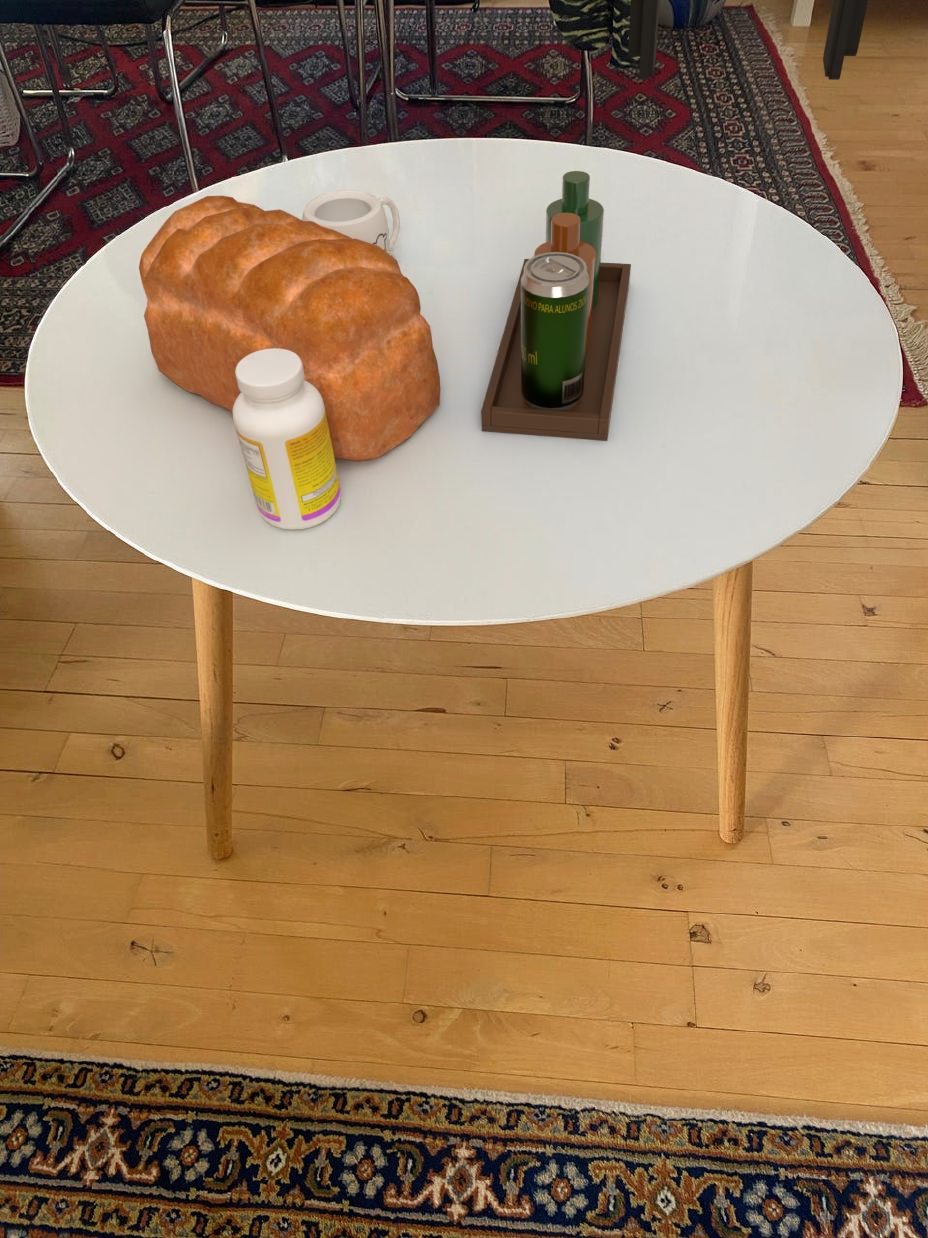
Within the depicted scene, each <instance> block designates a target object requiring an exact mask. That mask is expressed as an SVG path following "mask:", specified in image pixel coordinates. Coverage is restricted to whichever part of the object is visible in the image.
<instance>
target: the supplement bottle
mask: <svg viewBox="0 0 928 1238" xmlns="http://www.w3.org/2000/svg"><path fill="white" fill-rule="evenodd" d="M235 373H236V378H237V383H238V388H239V390H240V391H241V393H240V394H239V396H238V397H237V399H236V401H235V403H234V406H233V413H232V421H233V424H234V425H233V426H234V428H235V431H236V436H237V438H238V442H239V443H238V444H239V445H240V449H241V453H242V456H243V457H242V458H243V459H244V464H245V469H246V471H247V474H248V475H247V476H248V480H249V483H250V486H251V489H252V494H253V497H254V500H255V504H256V507H257V510H258V512H259V514H260V516H261V517H262V518H263V519H264V520H265V521H266V522H267V523H269V525H272V526H274V527H276V528H279V529H283V530H293V531H294V530H295V531H296V530H303V529H304V530H305V529H309V528H312V527H316V526H318V525H320V524H322V523H324V522H326V521H327V520H328V519H329V518H331V517H332V516H333V515H334V513H335V512H336V511H337V510H338V508H339V506H340V504H341V500H342V499H341V498H342V493H341V491H342V490H341V486H340V479H339V474H338V469H337V464H336V459H335V458H336V457H334V453H333V448H332V443H331V438H330V433H329V427H328V422H327V417H326V412H325V407H324V403H323V399H322V396H321V394H320V393H319V391H318V390H317V389H316V388H315V387H314V386H313V385H312V384H310V383H309V382H307V381H305V380H304V376H305V375H304V370H303V365H302V362H301V359H300V358H299V356H298V355H297V354H295V353H294V352H291V351H289V350H285V349H278V348H273V349H264V350H260V351H256V352H254V353H251V354H249V355H247V356H246V357H244V358H243V359H242V360H241V361H240V362H239V363H238V365H237V366H236V371H235Z"/></svg>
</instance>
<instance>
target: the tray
mask: <svg viewBox="0 0 928 1238" xmlns="http://www.w3.org/2000/svg"><path fill="white" fill-rule="evenodd" d="M529 259H530V258H524V259H523V262H522V266H521V270H520V273H519V277H518V279H517V280H518V281H517V284H516V287H515V291H514V295H513V298H512V302H511V305H510V308H509V312H508V315H507V319H506V322H505V325H504V329H503V332H502V336H501V340H500V344H499V347H498V351H497V354H496V358H495V361H494V365H493V367H492V368H493V369H492V372H491V375H490V379H489V382H488V386H487V389H486V391H485V396H484V399H483V403H482V407H481V410H480V416H481V420H480V421H481V431H482V432H489V433H501V434H502V433H503V434H516V435H527V436H540V437H541V436H542V437H555V438H568V439H579V440H580V439H581V440H594V441H608V437H609V431H610V425H611V418H612V417H611V416H612V410H613V402H614V395H615V388H616V381H617V374H618V368H619V367H618V366H619V359H620V355H621V354H620V353H621V346H622V338H623V331H624V324H625V317H626V311H627V303H628V297H629V289H630V281H631V271H632V264H631V263H622V262H621V263H620V262H603V261H601V265H600V282H599V298H598V303H597V305H596V306H595V307H594V308H593V309H592V324H591V342H590V349H589V351H588V352H587V353H586V358H585V376H584V391H583V394H582V397H581V399H580V400H579V402H578V403H577V404H576V405H575V407H573V408H571V409H570V410H568V411H564V412H563V411H549V410H535V409H533V408H531V407H530V406H529V405H528V404H527V403H526V401H525V399H524V397H523V396H522V391H521V278H522V275H523V273H524V266H525V263H526V262H527V261H528V260H529Z"/></svg>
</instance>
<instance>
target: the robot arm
mask: <svg viewBox="0 0 928 1238" xmlns="http://www.w3.org/2000/svg"><path fill="white" fill-rule="evenodd" d="M868 2H869V0H833V1H832V5H831V6H832V7H831V12H830V17H829V24H828V28H827V33H826V38H825V40H826V41H825V45H824V50H823V55H822V56H823V57H822V63H823V64H822V65H823V70H824V71H823V72H824V77H825V78H828V81H831V80H832V81H833V80H834V81H836V80H837V81H839V80H840V79H841V74H842V69H843V65H844V60H845V57H856V56H857V54H858V51H859V46H860V41H861V36H862V31H863V26H864V22H865V16H866V12H867V8H868ZM660 5H661V0H630V6H629V24H628V25H629V26H628V45H627V57H628V58H639V69H638V80H649V79H650V78H653V76H654V71H655V66H656V58H657V47H658V46H657V45H658V33H659V32H658V31H659V18H660Z"/></svg>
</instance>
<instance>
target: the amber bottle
mask: <svg viewBox="0 0 928 1238" xmlns="http://www.w3.org/2000/svg"><path fill="white" fill-rule="evenodd" d="M550 252H562V253H569V254H572V255H575V256H577V257H579V258H581V259H582V260H583V261H584V262H585V263H586V265H587V273H588V276H589V279H590V282H589V301H588V320H587V339H586V353H587V352H588V351H589V349H590V342H591V324H592V306H593V289H594V271H595V250H594V248H593V247H592V246H591V245H589V244H588V243H586V242H583V241H580V217H579V216H578V215H576V214H573V213H559V214H556V215H554V216H553V217H552V220H551V241H548V242H546V241H545V242H543V243H541V244H539V246H537V247H536V248H535V251H534V255H533V257H535V256H537V255H540V254H544V253H550Z"/></svg>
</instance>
